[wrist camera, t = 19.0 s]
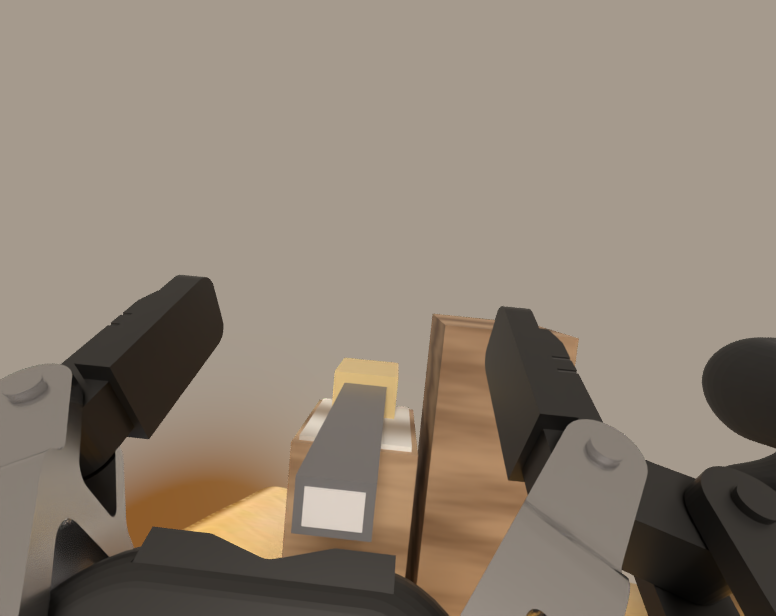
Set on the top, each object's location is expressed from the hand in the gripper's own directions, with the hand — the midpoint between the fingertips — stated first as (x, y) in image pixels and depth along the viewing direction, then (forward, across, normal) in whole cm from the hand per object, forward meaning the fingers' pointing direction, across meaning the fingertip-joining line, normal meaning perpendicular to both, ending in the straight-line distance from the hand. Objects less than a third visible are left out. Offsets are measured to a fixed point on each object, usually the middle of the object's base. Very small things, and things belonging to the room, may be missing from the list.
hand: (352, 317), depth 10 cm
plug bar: (+9, +1, +19) cm, 21 cm away
